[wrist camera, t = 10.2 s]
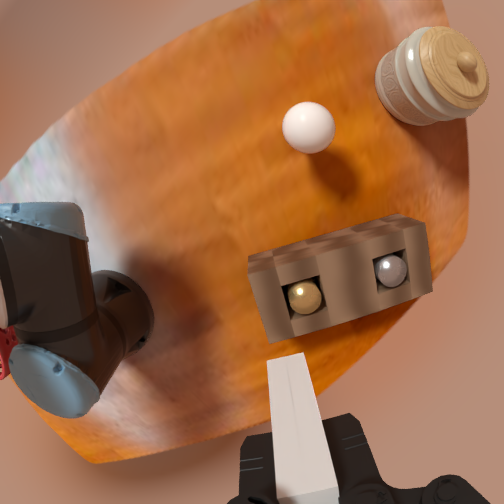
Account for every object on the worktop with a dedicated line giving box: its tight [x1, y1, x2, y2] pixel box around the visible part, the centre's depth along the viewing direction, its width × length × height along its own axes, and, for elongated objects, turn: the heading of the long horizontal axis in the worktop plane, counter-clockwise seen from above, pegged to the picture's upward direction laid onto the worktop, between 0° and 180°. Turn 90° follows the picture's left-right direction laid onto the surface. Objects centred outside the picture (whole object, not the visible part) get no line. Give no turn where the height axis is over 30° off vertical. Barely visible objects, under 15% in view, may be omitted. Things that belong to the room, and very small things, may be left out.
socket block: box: [248, 214, 433, 344], centre depth 43 cm, size 24×10×9 cm, turn 106°
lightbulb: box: [282, 102, 335, 154], centre depth 38 cm, size 6×6×11 cm
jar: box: [375, 26, 489, 126], centre depth 32 cm, size 13×13×18 cm
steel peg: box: [372, 252, 407, 287], centre depth 42 cm, size 4×4×8 cm
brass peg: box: [285, 277, 321, 314], centre depth 43 cm, size 4×4×8 cm
